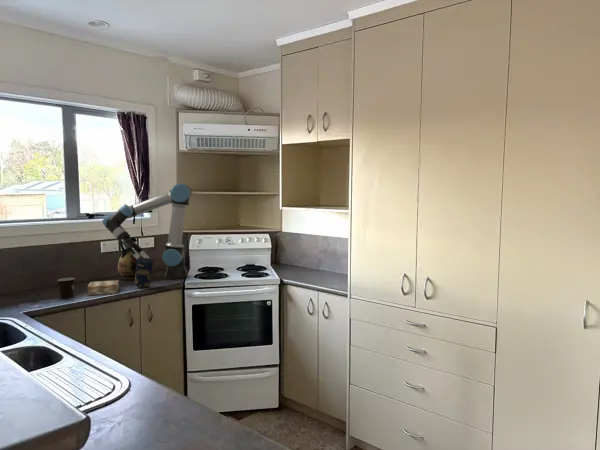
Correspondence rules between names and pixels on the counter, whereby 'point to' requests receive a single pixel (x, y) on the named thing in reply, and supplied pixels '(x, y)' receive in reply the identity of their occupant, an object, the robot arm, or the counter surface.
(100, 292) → the dock
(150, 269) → the canister
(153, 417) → the counter surface
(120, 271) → the ceramic jug
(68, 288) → the coffee mug
